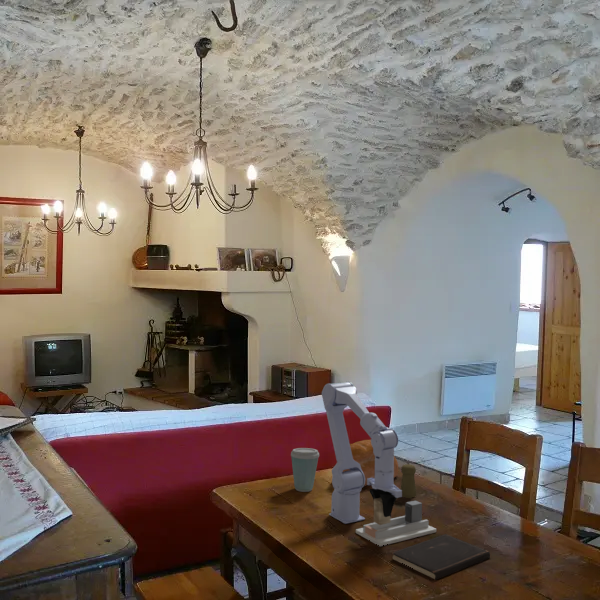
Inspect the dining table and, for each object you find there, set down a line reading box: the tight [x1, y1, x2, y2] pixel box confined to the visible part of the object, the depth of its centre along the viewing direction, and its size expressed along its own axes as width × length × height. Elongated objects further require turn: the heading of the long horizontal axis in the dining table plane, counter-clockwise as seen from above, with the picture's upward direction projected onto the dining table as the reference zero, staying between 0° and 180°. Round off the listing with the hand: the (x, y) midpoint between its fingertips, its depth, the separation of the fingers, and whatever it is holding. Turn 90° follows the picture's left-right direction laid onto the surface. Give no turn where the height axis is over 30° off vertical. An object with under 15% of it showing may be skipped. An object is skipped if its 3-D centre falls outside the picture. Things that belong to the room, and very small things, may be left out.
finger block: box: [373, 498, 392, 525], centre depth 200 cm, size 3×4×7 cm, turn 121°
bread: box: [342, 439, 399, 487], centre depth 256 cm, size 14×26×15 cm, turn 130°
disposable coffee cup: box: [290, 447, 320, 493], centre depth 243 cm, size 11×11×15 cm
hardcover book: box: [391, 533, 491, 581], centre depth 185 cm, size 16×23×2 cm
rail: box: [355, 500, 437, 547], centre depth 203 cm, size 12×22×8 cm, turn 121°
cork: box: [399, 463, 417, 499], centre depth 238 cm, size 6×6×11 cm
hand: (383, 514), depth 200 cm, fingers closed on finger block, 3 cm apart
